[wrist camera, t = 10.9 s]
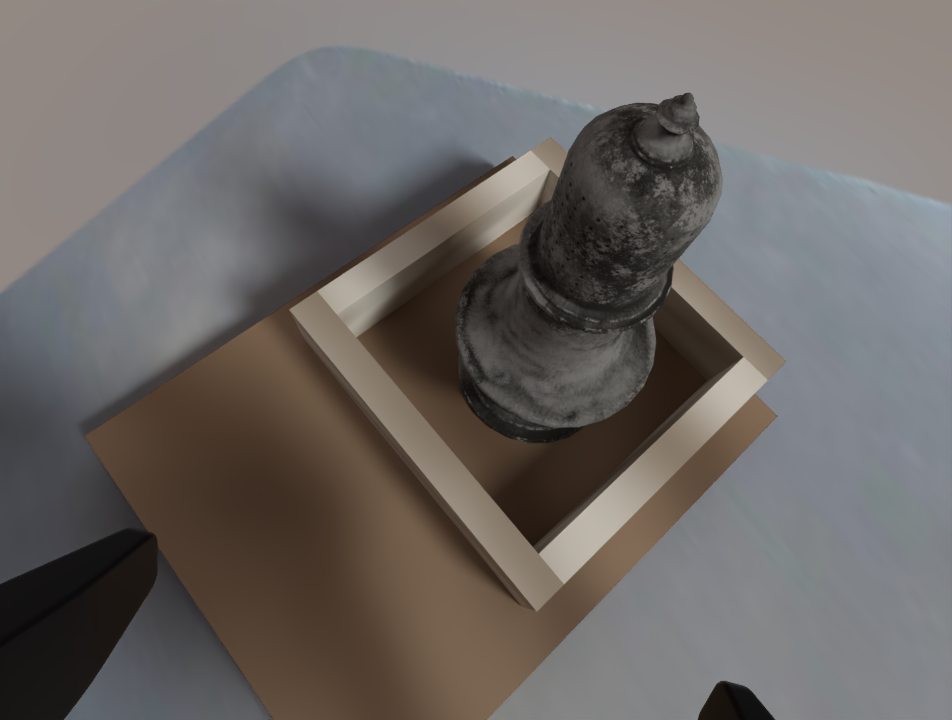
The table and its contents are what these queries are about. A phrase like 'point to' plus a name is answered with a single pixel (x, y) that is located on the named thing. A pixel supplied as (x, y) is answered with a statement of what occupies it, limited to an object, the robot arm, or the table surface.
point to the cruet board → (418, 476)
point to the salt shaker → (587, 275)
